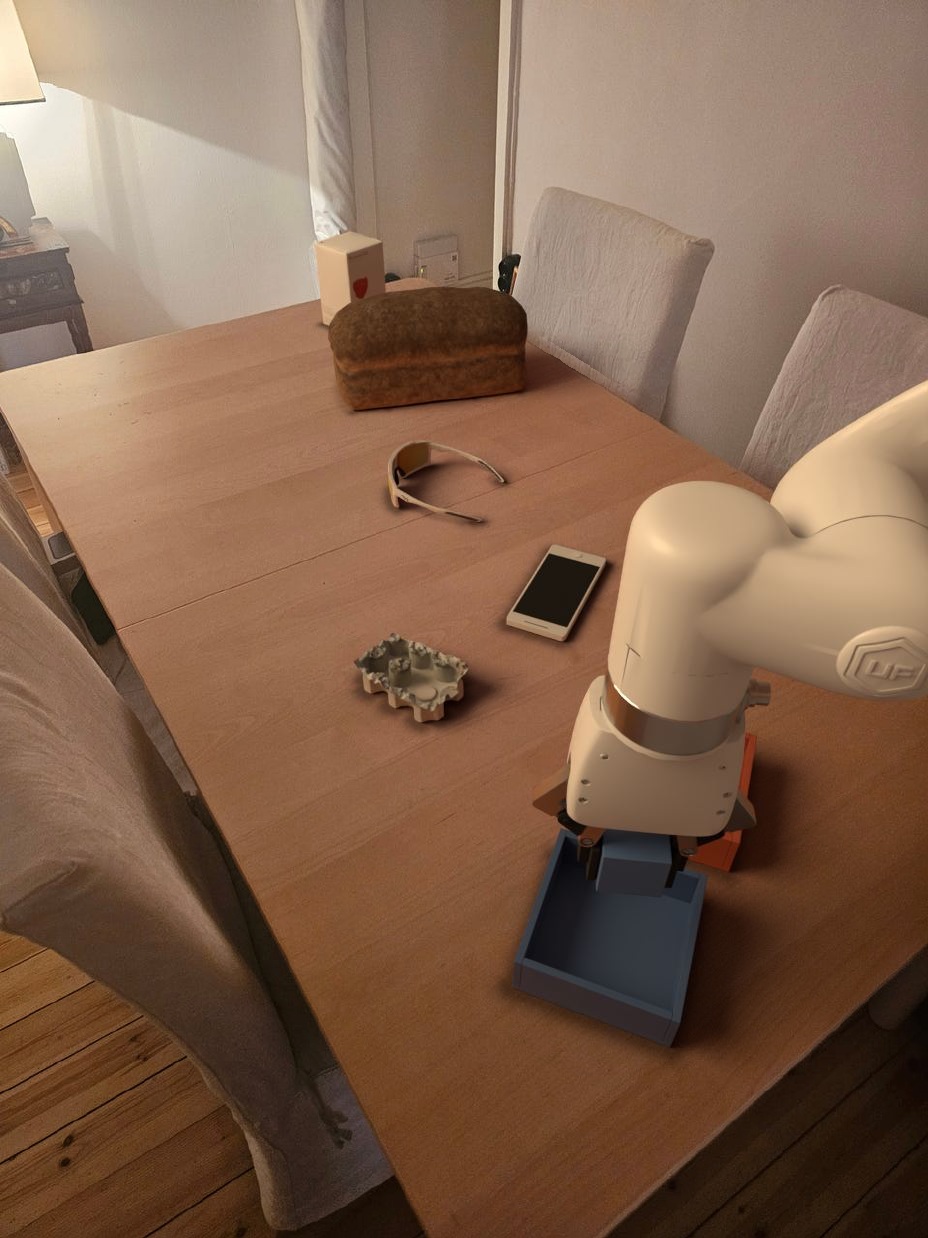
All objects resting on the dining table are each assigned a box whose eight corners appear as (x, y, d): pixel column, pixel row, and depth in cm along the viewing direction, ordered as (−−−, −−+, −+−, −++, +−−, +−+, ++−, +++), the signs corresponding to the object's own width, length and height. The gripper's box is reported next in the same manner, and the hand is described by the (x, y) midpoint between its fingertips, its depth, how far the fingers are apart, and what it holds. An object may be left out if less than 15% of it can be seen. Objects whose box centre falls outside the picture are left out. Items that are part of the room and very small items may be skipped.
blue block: (657, 841, 60) (667, 805, 57) (661, 898, 57) (672, 863, 54) (595, 835, 60) (602, 800, 57) (595, 892, 57) (603, 857, 54)
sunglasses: (409, 455, 120) (412, 426, 117) (506, 486, 118) (512, 457, 115) (369, 508, 111) (371, 478, 107) (474, 543, 108) (479, 513, 105)
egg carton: (473, 691, 86) (474, 664, 83) (426, 734, 82) (424, 707, 79) (399, 646, 91) (397, 619, 88) (351, 684, 87) (347, 657, 84)
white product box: (353, 337, 151) (345, 253, 141) (322, 324, 156) (312, 241, 146) (389, 322, 156) (384, 240, 146) (358, 310, 161) (350, 229, 150)
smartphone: (606, 563, 102) (607, 557, 101) (564, 642, 91) (564, 636, 91) (552, 548, 104) (552, 542, 103) (504, 624, 94) (505, 618, 93)
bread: (331, 375, 140) (319, 281, 129) (511, 355, 145) (514, 263, 134) (340, 416, 130) (328, 317, 119) (534, 394, 134) (539, 297, 124)
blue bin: (697, 903, 68) (708, 874, 65) (669, 1048, 60) (680, 1023, 57) (556, 856, 72) (560, 827, 69) (512, 988, 63) (514, 961, 60)
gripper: (812, 656, 48) (741, 831, 60) (524, 635, 49) (512, 810, 62) (841, 759, 43) (757, 928, 55) (516, 731, 44) (505, 902, 56)
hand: (627, 864), depth 58 cm, fingers closed on blue block, 4 cm apart
